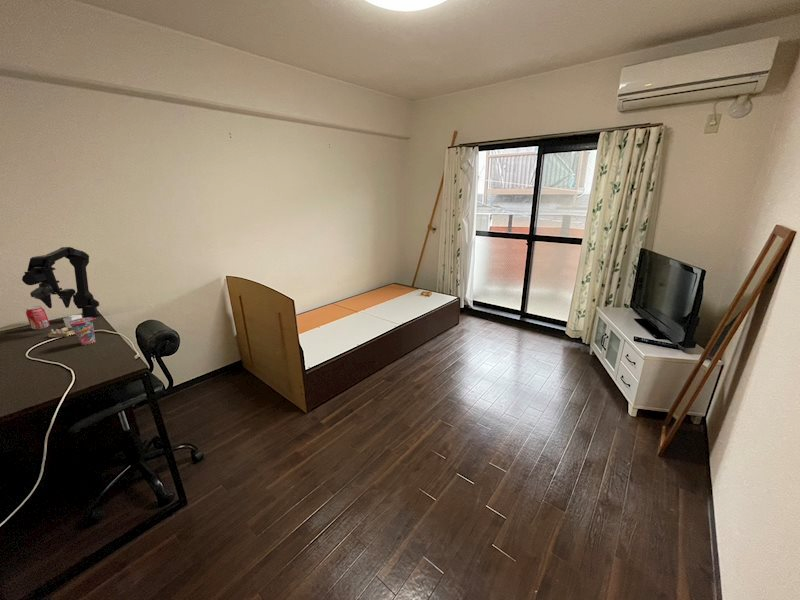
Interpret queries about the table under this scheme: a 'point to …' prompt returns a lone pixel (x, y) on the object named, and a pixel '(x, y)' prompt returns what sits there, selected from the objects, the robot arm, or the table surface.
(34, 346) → the table surface
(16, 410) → the table surface
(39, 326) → the soda can
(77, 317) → the block
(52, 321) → the table surface
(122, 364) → the table surface
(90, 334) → the cup
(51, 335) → the light brown u-shaped piece
